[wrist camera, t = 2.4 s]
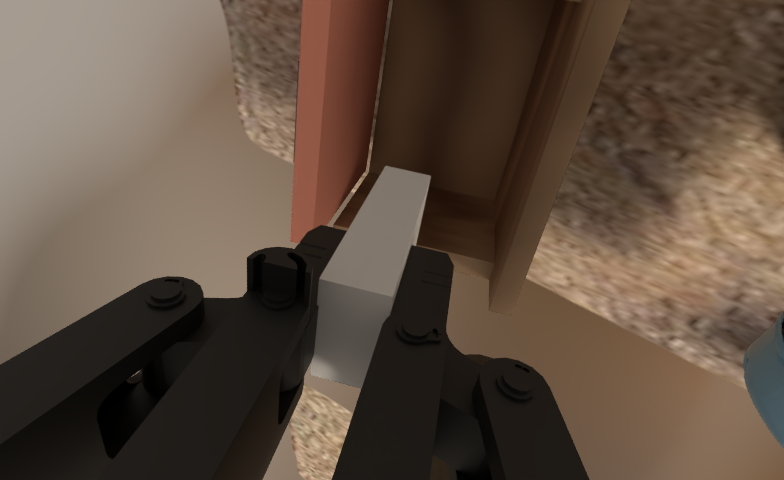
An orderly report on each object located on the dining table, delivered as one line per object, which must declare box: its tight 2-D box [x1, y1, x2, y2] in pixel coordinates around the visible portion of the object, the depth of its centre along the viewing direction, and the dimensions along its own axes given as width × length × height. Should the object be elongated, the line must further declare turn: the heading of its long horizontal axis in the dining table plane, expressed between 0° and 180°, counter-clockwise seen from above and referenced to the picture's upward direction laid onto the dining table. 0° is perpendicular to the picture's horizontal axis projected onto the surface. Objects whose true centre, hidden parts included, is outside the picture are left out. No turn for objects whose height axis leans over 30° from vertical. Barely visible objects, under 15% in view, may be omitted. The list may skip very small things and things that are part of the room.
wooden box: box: [333, 0, 631, 316], centre depth 30 cm, size 11×16×21 cm
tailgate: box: [290, 0, 389, 243], centre depth 26 cm, size 2×14×13 cm, turn 171°
